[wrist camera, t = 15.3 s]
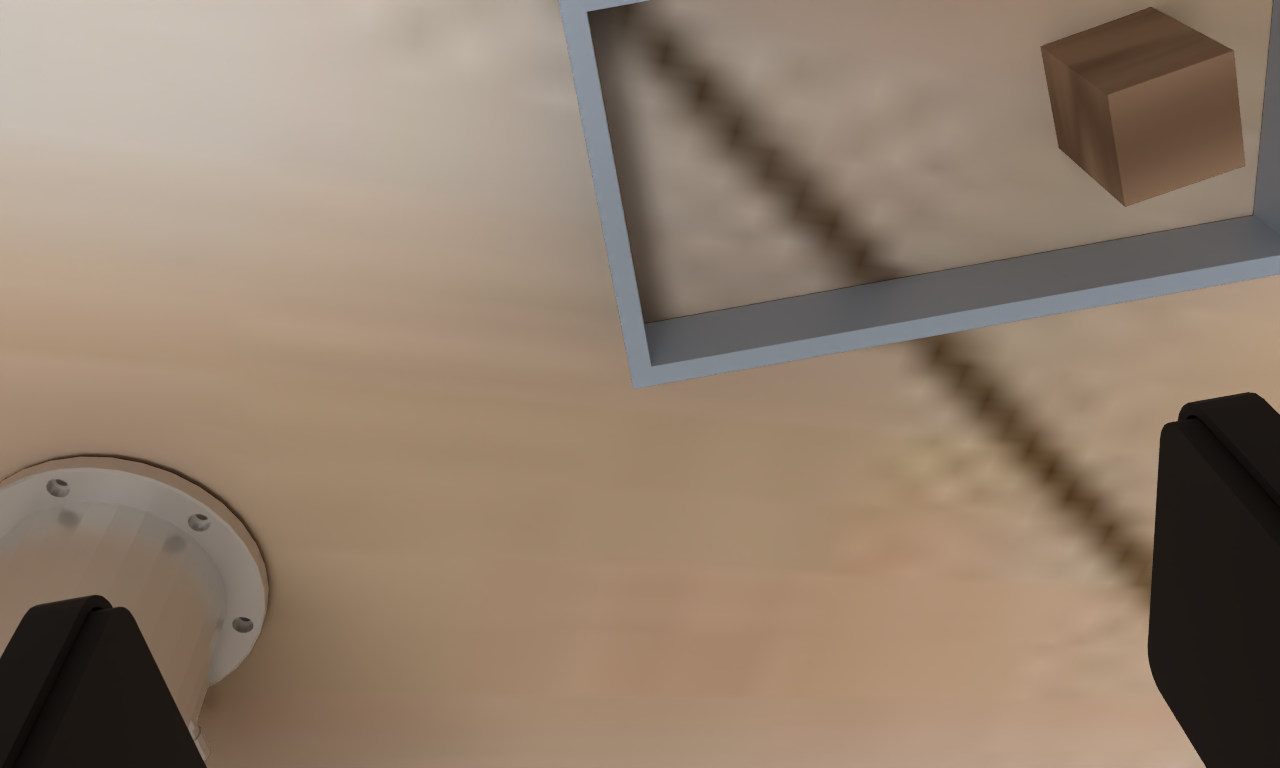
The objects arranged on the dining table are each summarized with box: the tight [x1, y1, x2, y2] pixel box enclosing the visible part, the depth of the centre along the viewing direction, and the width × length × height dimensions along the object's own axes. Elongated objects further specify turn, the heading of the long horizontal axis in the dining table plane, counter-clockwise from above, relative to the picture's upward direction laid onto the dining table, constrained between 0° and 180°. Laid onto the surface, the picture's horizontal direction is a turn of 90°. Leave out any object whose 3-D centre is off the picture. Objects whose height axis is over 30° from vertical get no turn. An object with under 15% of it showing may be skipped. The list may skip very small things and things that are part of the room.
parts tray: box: [558, 0, 1280, 389], centre depth 43 cm, size 15×26×4 cm, turn 99°
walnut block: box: [1041, 7, 1245, 207], centre depth 42 cm, size 4×4×6 cm
